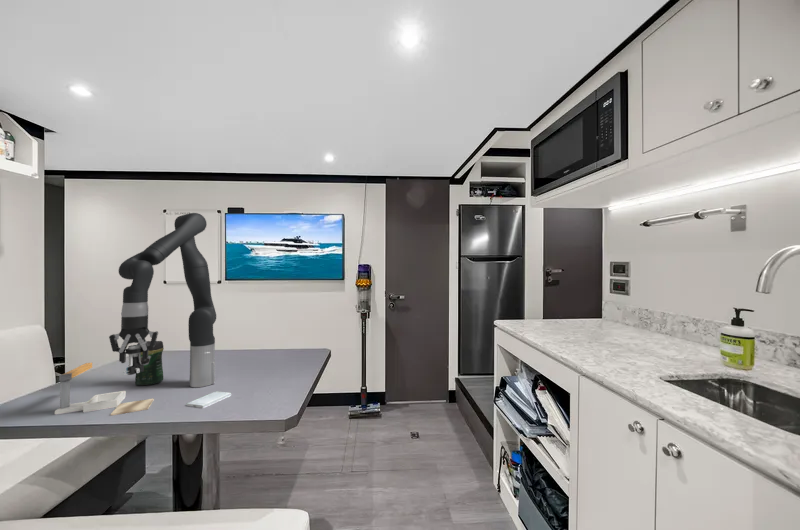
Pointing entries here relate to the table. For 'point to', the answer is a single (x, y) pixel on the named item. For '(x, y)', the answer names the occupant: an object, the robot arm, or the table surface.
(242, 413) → the table surface
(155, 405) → the table surface
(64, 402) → the socket housing
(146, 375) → the coffee jar
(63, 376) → the bar
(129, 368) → the push button
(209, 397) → the hard drive
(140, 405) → the wood pad
